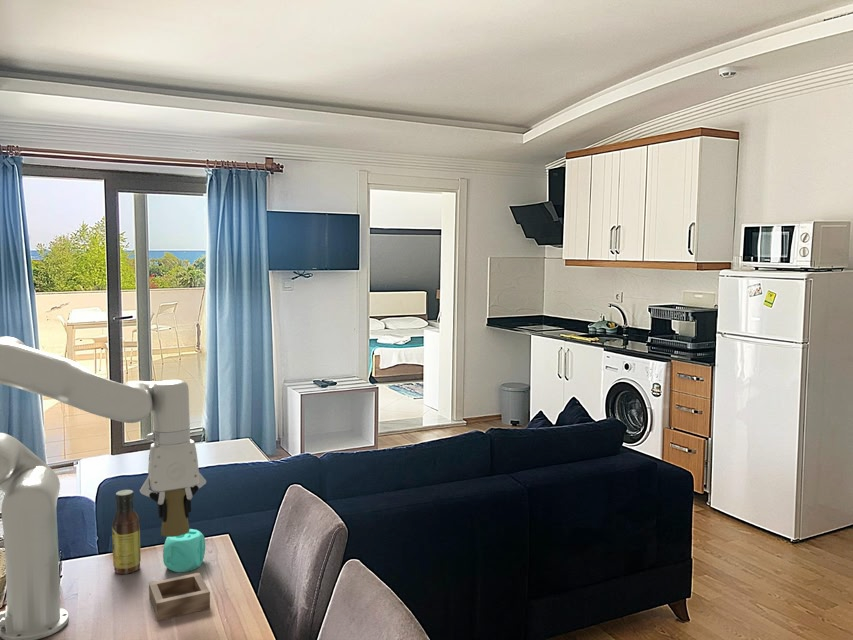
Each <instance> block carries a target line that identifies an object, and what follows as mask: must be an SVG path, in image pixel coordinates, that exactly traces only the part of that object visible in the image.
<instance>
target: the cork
mask: <svg viewBox="0 0 853 640" xmlns="http://www.w3.org/2000/svg"><path fill="white" fill-rule="evenodd" d="M185 494H186V492H185V488H183V489H177V490H171V491H165V497H164V500H165V503H166V507H167V520H166V522H163V521H162V520H161V528H160V535H161V536H162V537H166V538H167V537H175V536H181V535H184V534H186V533H188V532H189V530H190V529H191V528H190V524H189V519H188V518H189V517H188V518H186V516H185V505H184V496H185Z"/></svg>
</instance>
